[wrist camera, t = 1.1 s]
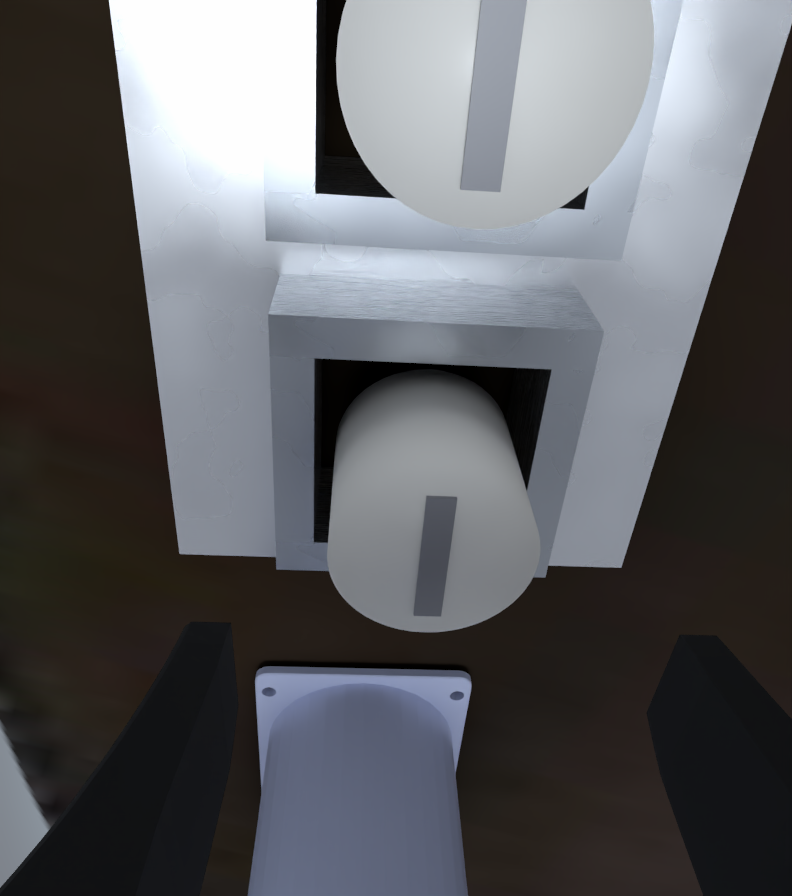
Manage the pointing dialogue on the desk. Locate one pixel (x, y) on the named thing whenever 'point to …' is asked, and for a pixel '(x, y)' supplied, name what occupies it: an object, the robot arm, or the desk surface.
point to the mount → (415, 271)
